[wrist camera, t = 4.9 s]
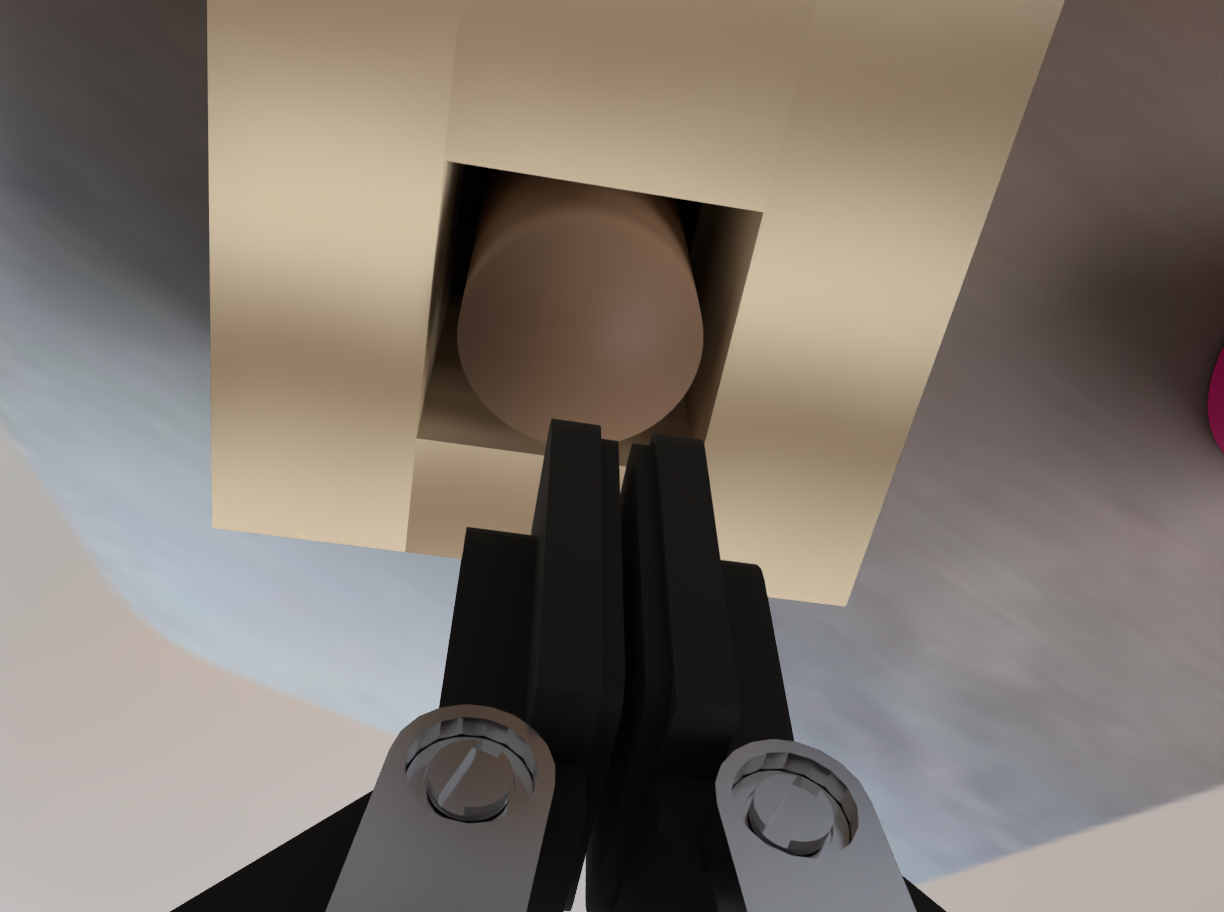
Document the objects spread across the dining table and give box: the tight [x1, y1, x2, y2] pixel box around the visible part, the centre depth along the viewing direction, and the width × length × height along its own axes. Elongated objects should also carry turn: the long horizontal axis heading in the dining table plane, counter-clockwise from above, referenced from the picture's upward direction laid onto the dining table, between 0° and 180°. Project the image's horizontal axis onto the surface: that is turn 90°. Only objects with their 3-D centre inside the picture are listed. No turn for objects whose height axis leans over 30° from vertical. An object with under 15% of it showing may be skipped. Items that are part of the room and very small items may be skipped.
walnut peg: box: [457, 169, 703, 442], centre depth 21 cm, size 4×4×6 cm
